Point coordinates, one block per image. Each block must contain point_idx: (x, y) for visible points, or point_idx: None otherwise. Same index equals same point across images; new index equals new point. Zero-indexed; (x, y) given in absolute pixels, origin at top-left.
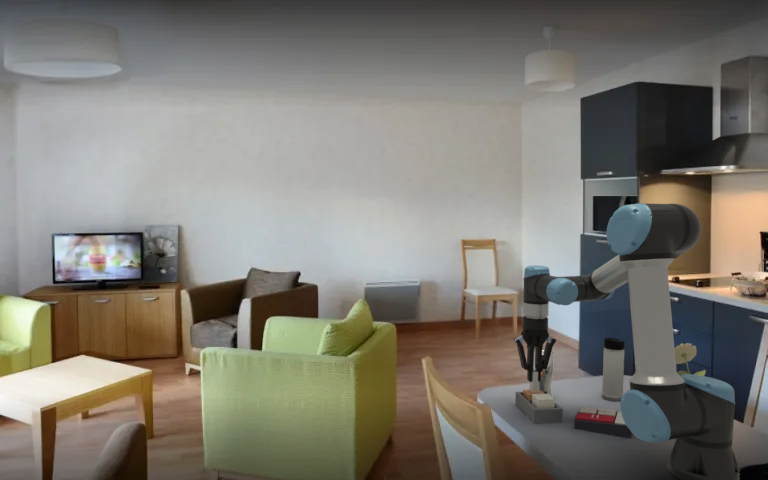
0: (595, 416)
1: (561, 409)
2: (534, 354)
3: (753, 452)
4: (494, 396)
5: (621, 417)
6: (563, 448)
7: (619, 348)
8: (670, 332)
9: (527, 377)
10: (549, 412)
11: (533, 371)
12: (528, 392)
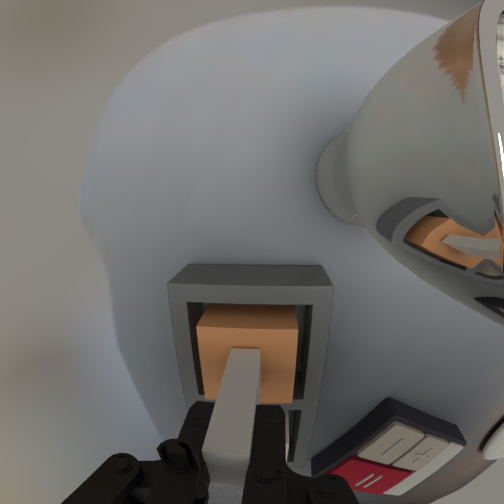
0: (370, 479)
1: (299, 466)
2: (468, 157)
3: (487, 466)
4: (127, 150)
5: (420, 474)
6: (234, 500)
7: None
8: None
9: (187, 418)
10: None
11: (217, 479)
12: (214, 370)
